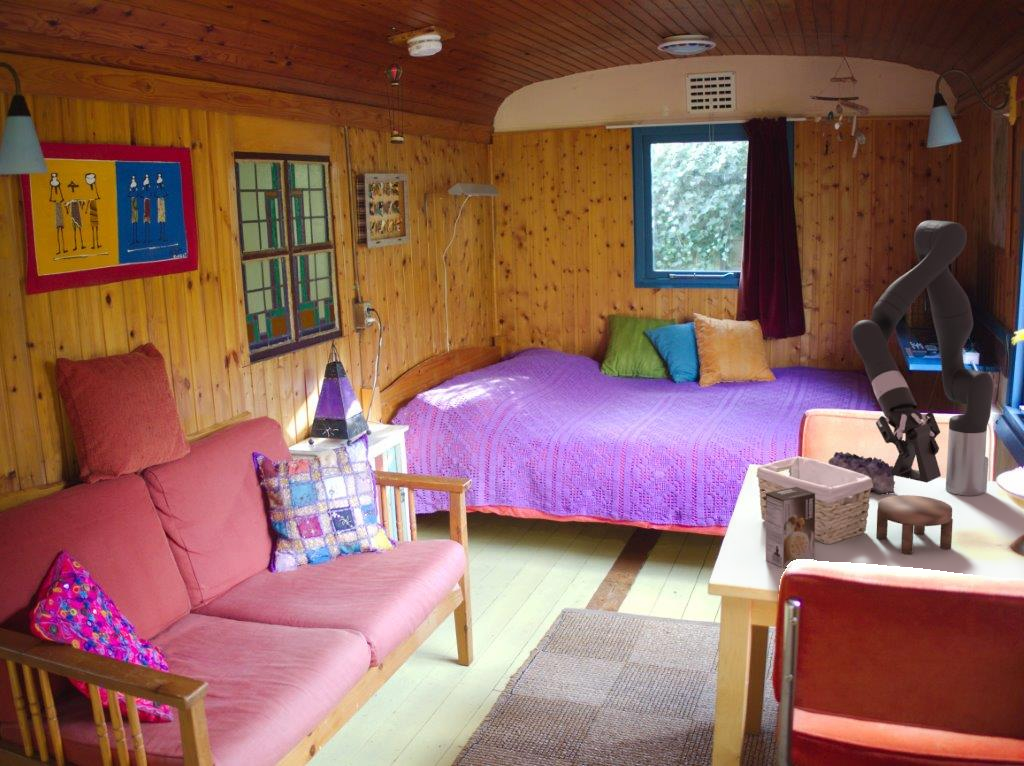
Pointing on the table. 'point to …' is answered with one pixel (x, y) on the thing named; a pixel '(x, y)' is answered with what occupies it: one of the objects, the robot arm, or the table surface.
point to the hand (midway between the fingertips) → (921, 454)
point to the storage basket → (822, 494)
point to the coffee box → (790, 525)
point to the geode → (867, 470)
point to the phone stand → (918, 456)
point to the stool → (914, 518)
